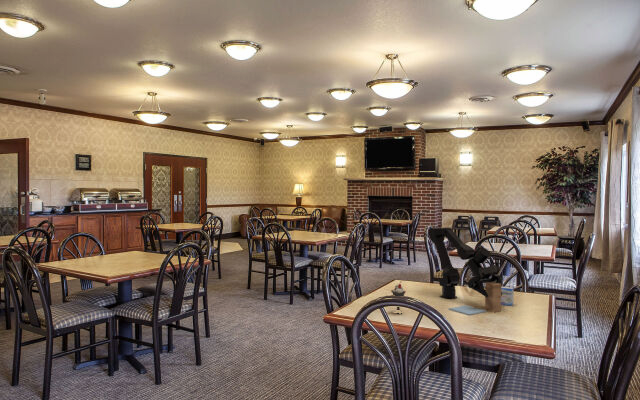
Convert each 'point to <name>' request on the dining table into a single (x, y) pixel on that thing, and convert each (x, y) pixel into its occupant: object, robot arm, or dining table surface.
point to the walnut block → (493, 297)
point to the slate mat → (467, 310)
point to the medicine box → (507, 296)
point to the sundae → (398, 292)
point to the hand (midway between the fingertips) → (494, 295)
